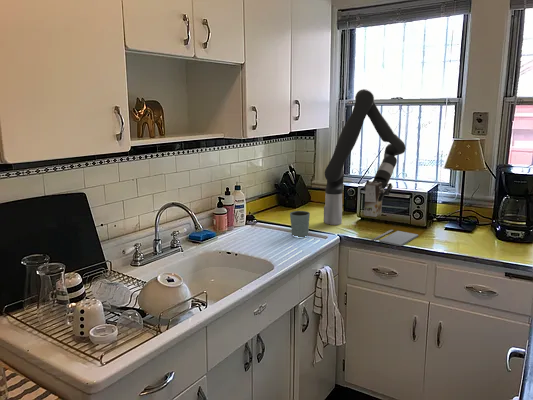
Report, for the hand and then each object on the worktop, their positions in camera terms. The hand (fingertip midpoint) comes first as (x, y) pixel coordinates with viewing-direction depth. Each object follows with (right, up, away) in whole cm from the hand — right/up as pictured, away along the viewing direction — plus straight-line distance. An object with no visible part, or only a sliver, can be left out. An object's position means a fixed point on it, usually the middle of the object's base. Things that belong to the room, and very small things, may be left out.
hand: (372, 199), depth 229 cm
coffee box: (+1, -8, +3) cm, 8 cm away
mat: (+12, -20, -4) cm, 23 cm away
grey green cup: (-36, -19, +5) cm, 41 cm away
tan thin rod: (+5, -18, +2) cm, 19 cm away
